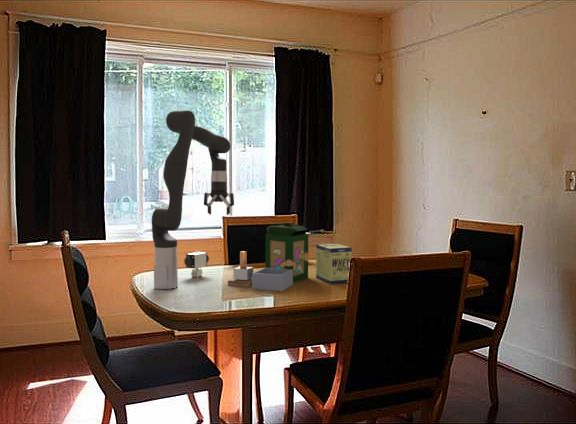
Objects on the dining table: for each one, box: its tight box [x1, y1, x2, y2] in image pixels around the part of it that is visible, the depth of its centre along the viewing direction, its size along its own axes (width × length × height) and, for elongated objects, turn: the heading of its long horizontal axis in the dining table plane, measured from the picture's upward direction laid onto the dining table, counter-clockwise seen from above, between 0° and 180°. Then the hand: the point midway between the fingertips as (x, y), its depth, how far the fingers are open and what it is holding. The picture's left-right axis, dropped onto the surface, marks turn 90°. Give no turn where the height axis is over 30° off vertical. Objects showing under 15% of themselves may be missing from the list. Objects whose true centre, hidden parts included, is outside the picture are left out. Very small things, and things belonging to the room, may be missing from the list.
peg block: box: [232, 250, 254, 280], centre depth 242 cm, size 6×6×12 cm
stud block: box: [227, 278, 252, 288], centre depth 243 cm, size 10×10×6 cm
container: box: [264, 222, 309, 283], centre depth 254 cm, size 15×18×25 cm
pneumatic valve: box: [183, 250, 210, 278], centre depth 258 cm, size 6×12×12 cm, turn 146°
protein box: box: [315, 243, 353, 285], centre depth 251 cm, size 10×16×16 cm
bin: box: [251, 267, 294, 292], centre depth 237 cm, size 13×13×7 cm
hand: (218, 214), depth 269 cm, fingers open, 8 cm apart
